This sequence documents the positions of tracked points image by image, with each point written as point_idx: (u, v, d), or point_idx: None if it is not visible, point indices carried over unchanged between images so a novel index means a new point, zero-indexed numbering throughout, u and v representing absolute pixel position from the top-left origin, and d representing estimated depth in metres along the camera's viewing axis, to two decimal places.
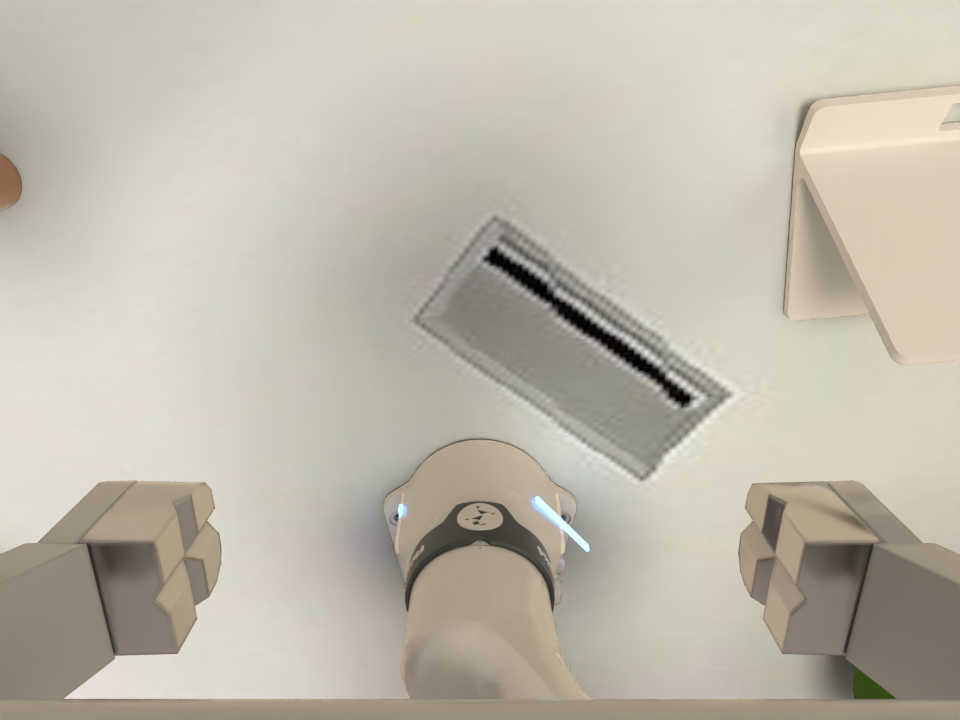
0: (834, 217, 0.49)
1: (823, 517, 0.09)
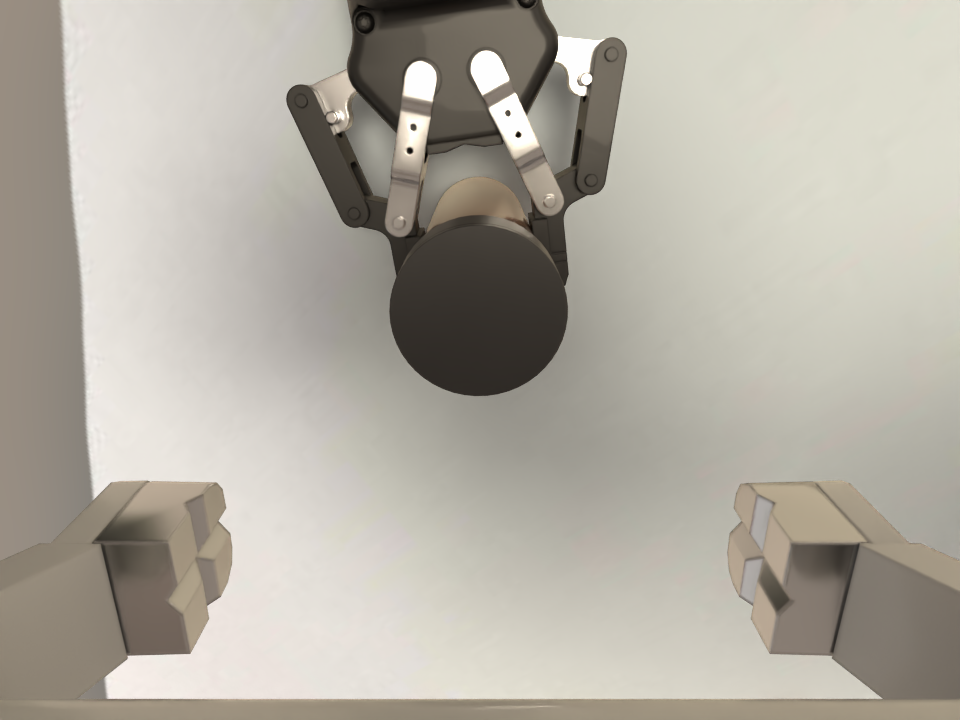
0: None
1: (810, 517, 0.09)
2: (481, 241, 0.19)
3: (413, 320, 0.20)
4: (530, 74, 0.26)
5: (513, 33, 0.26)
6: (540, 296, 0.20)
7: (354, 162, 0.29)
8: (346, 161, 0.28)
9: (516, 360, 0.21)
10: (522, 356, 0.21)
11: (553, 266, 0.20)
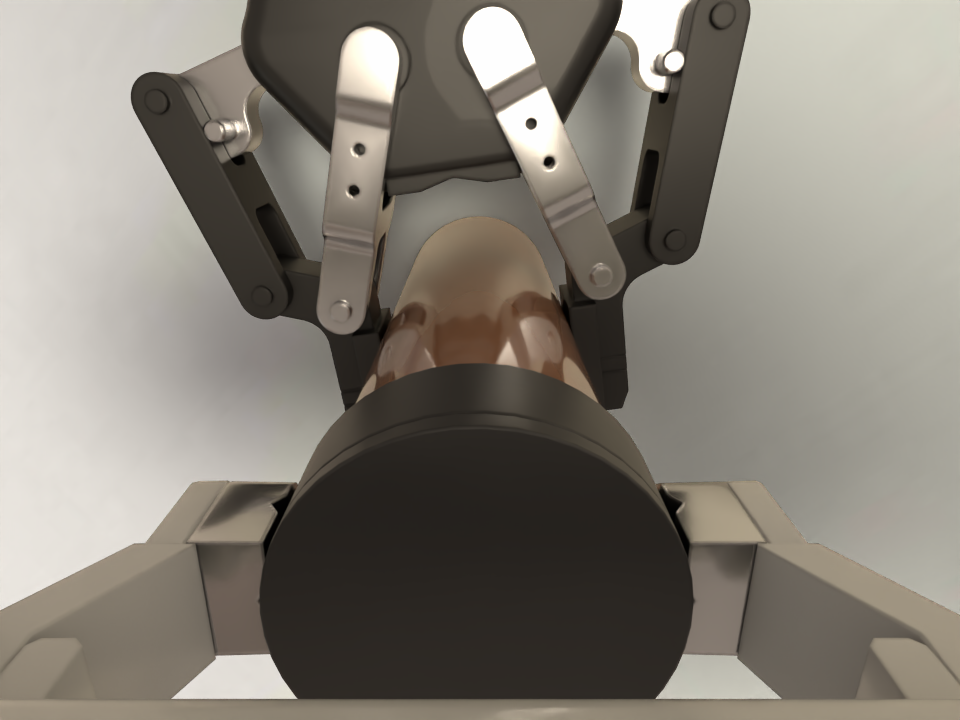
0: None
1: (714, 517, 0.09)
2: (483, 463, 0.07)
3: (318, 632, 0.08)
4: (571, 53, 0.14)
5: None
6: (628, 583, 0.08)
7: (269, 205, 0.17)
8: (246, 207, 0.16)
9: None
10: None
11: (664, 517, 0.08)
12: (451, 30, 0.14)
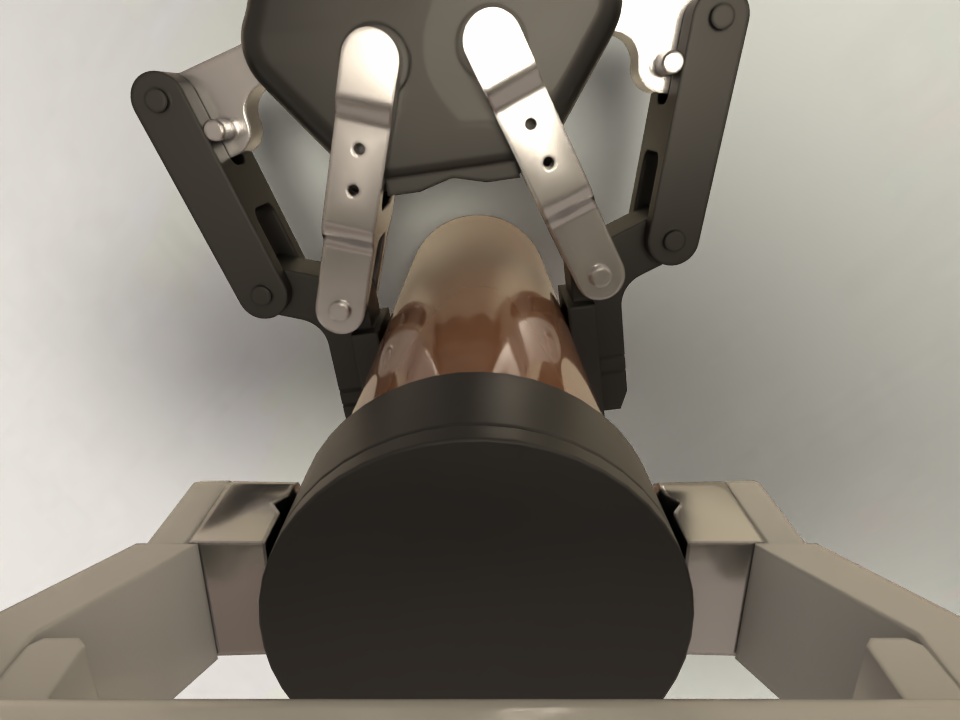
0: None
1: (712, 517, 0.09)
2: (315, 552, 0.08)
3: None
4: (571, 54, 0.14)
5: None
6: (513, 502, 0.08)
7: (268, 204, 0.17)
8: (245, 206, 0.16)
9: (628, 613, 0.08)
10: (628, 598, 0.08)
11: (459, 440, 0.07)
12: (451, 30, 0.14)
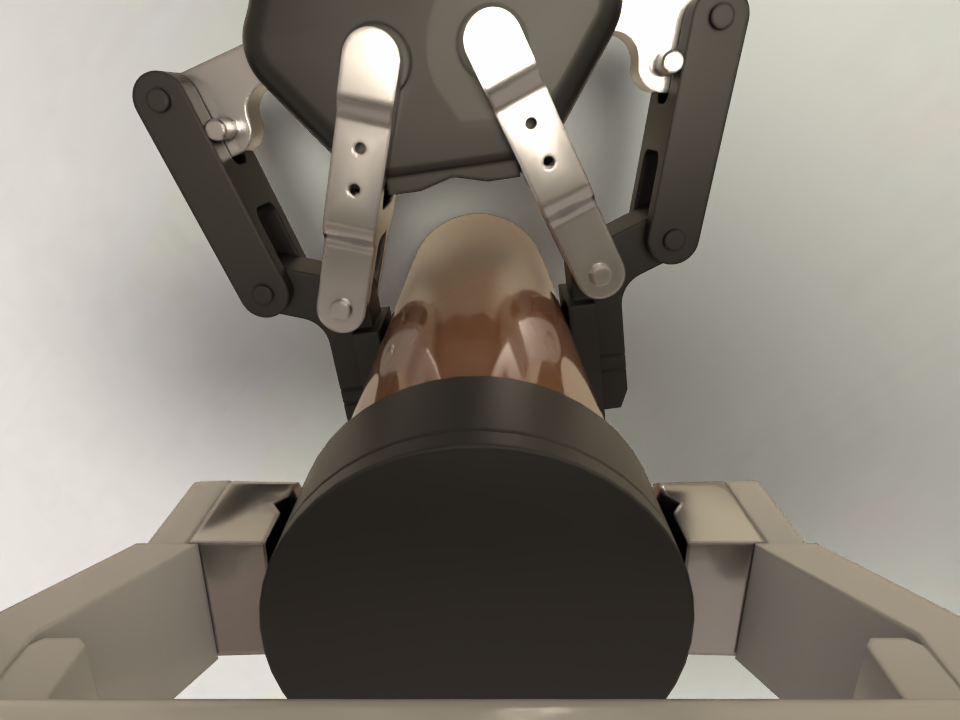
0: None
1: (712, 517, 0.09)
2: (325, 698, 0.09)
3: None
4: (571, 53, 0.15)
5: None
6: (354, 550, 0.08)
7: (269, 203, 0.17)
8: (247, 206, 0.16)
9: (537, 517, 0.08)
10: (519, 510, 0.08)
11: (274, 557, 0.08)
12: (452, 30, 0.14)
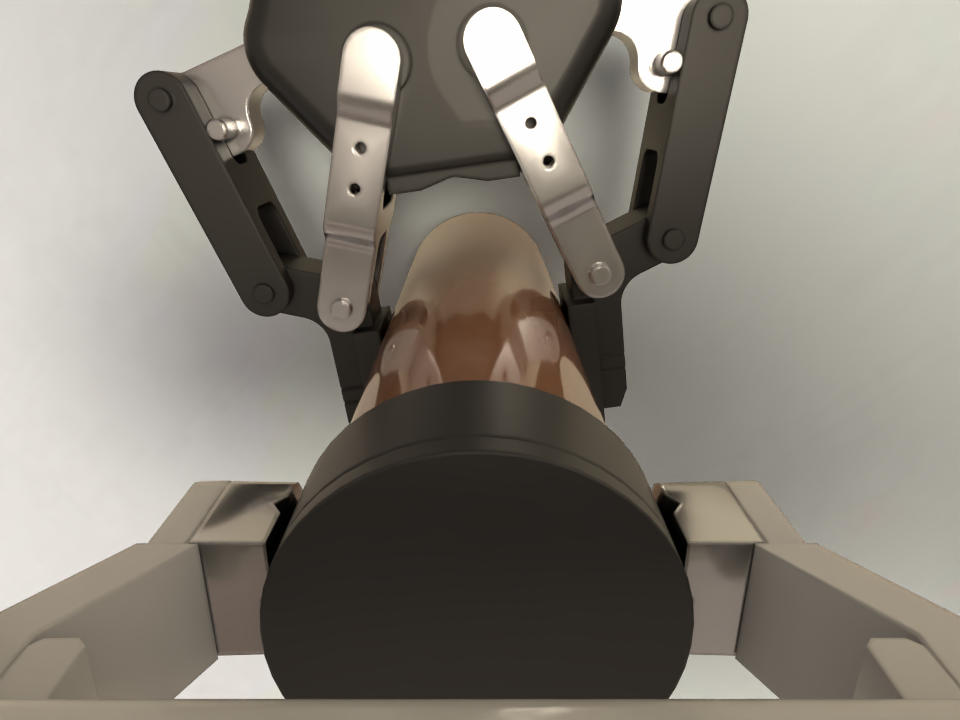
0: None
1: (712, 517, 0.09)
2: None
3: (637, 629, 0.08)
4: (570, 53, 0.15)
5: None
6: (332, 676, 0.08)
7: (270, 203, 0.17)
8: (247, 205, 0.16)
9: (376, 543, 0.08)
10: (361, 552, 0.08)
11: None
12: (452, 30, 0.14)
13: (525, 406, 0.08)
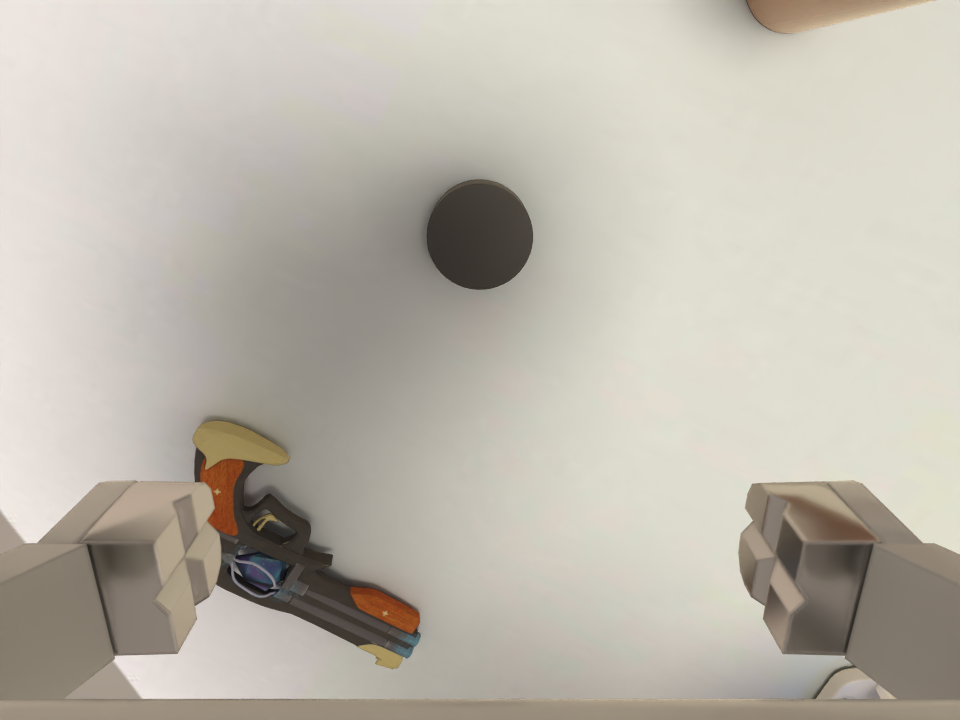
0: None
1: (823, 517, 0.09)
2: (519, 217, 0.33)
3: (457, 205, 0.33)
4: None
5: None
6: (507, 263, 0.34)
7: None
8: None
9: (466, 271, 0.34)
10: (470, 273, 0.34)
11: (525, 261, 0.34)
12: None
13: None
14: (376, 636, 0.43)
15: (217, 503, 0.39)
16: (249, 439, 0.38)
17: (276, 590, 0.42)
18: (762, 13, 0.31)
